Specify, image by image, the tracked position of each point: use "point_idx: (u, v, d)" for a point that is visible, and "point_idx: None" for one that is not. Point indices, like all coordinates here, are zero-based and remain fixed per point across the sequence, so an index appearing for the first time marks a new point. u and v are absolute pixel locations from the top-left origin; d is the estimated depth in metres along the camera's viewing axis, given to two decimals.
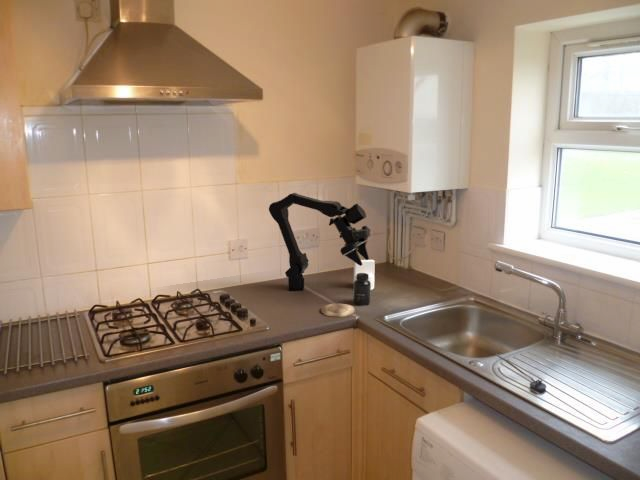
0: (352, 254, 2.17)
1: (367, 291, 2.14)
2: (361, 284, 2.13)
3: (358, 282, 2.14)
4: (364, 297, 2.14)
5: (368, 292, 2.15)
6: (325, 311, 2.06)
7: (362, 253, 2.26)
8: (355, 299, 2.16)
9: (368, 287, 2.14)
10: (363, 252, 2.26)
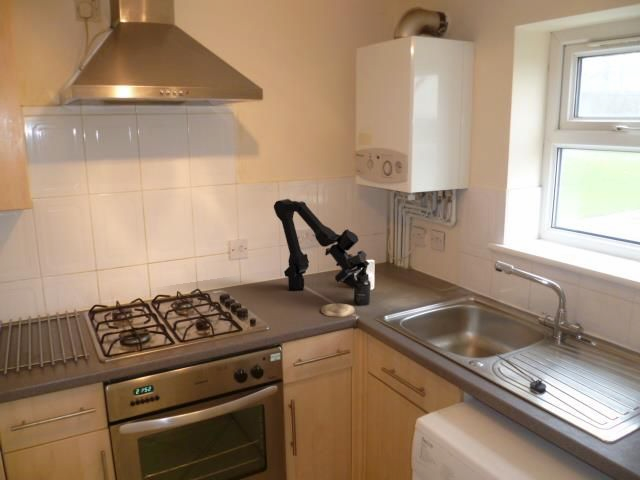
0: (349, 280, 2.14)
1: (367, 291, 2.14)
2: (361, 284, 2.13)
3: (358, 282, 2.14)
4: (364, 297, 2.14)
5: (368, 292, 2.15)
6: (325, 311, 2.06)
7: None
8: (355, 299, 2.16)
9: (368, 287, 2.14)
10: None
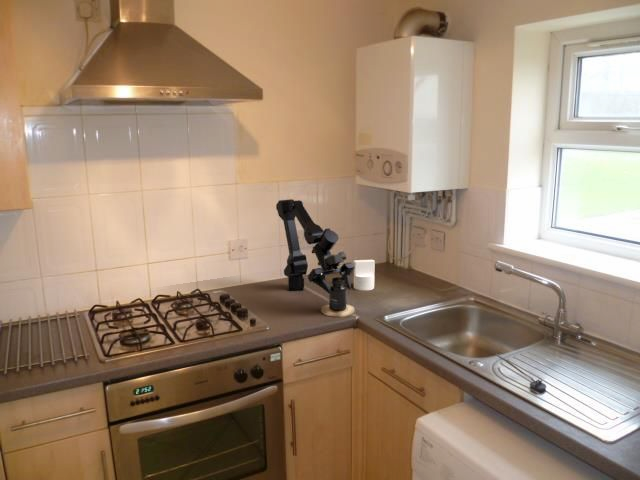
0: (321, 281, 2.06)
1: (340, 297, 2.04)
2: (333, 289, 2.04)
3: (332, 286, 2.06)
4: (336, 303, 2.05)
5: (341, 298, 2.05)
6: (325, 311, 2.06)
7: (345, 282, 2.10)
8: (329, 303, 2.08)
9: (341, 293, 2.04)
10: (346, 281, 2.10)
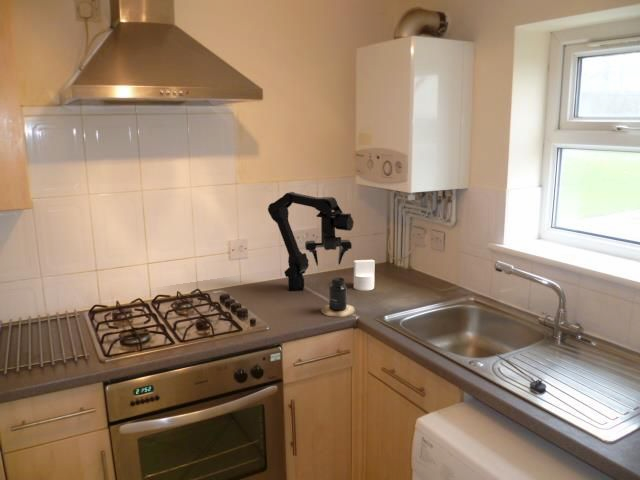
0: None
1: (340, 297, 2.04)
2: (333, 289, 2.04)
3: (332, 286, 2.06)
4: (336, 303, 2.05)
5: (341, 298, 2.05)
6: (325, 311, 2.06)
7: (339, 256, 2.26)
8: (329, 303, 2.08)
9: (341, 293, 2.04)
10: (339, 256, 2.25)
